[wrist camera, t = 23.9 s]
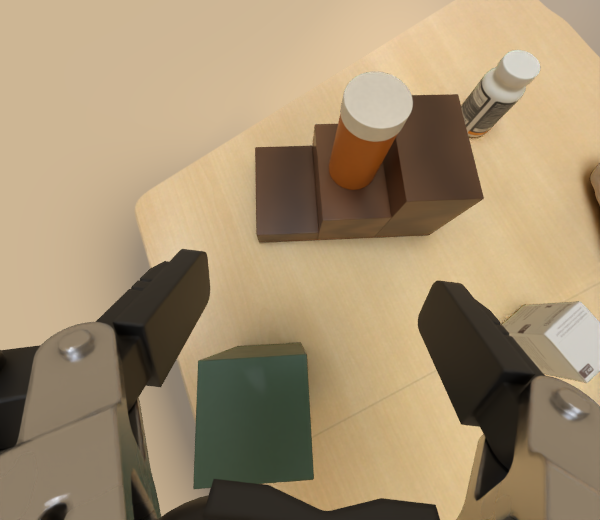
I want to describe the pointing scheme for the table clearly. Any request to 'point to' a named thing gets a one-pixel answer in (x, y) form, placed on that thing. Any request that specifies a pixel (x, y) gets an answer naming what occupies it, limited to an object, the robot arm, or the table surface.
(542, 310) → the product carton
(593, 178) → the decorative stone
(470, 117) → the pill bottle
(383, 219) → the riser
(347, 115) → the amber bottle
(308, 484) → the table surface
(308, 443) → the stand
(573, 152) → the table surface
